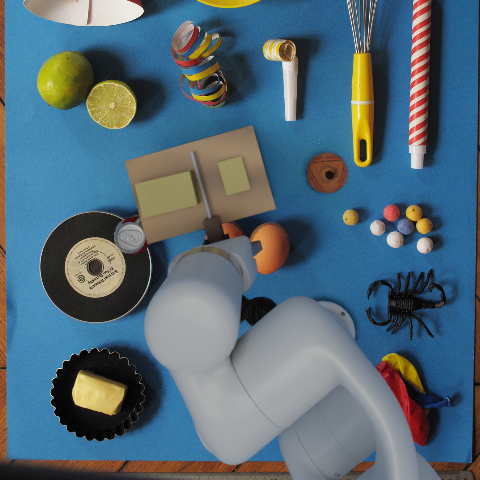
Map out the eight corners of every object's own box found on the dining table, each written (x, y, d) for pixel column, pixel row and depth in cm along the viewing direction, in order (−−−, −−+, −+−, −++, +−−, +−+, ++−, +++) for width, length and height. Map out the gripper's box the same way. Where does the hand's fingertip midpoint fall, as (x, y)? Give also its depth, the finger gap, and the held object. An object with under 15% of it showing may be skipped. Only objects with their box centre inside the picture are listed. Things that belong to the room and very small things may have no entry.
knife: (235, 271, 62) (234, 277, 59) (221, 275, 62) (219, 281, 59) (200, 149, 62) (198, 149, 59) (186, 153, 62) (183, 153, 59)
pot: (354, 178, 84) (356, 184, 78) (319, 195, 86) (318, 203, 80) (335, 143, 84) (335, 147, 78) (301, 161, 86) (298, 166, 80)
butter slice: (227, 194, 62) (250, 188, 62) (226, 196, 60) (250, 189, 60) (218, 162, 62) (241, 155, 62) (217, 162, 60) (241, 155, 60)
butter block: (200, 202, 62) (197, 205, 59) (148, 214, 63) (142, 218, 59) (192, 170, 62) (189, 170, 59) (141, 182, 63) (134, 183, 59)
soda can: (159, 246, 86) (144, 260, 74) (127, 239, 86) (107, 252, 74) (165, 213, 86) (152, 223, 74) (133, 207, 86) (114, 215, 74)
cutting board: (269, 195, 85) (276, 209, 62) (175, 221, 86) (147, 244, 63) (252, 133, 85) (252, 124, 62) (158, 160, 86) (124, 160, 63)
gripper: (142, 338, 44) (174, 285, 62) (290, 298, 43) (279, 256, 62) (123, 269, 44) (161, 236, 62) (271, 228, 43) (265, 207, 62)
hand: (219, 246), depth 62 cm, fingers closed on knife, 2 cm apart
